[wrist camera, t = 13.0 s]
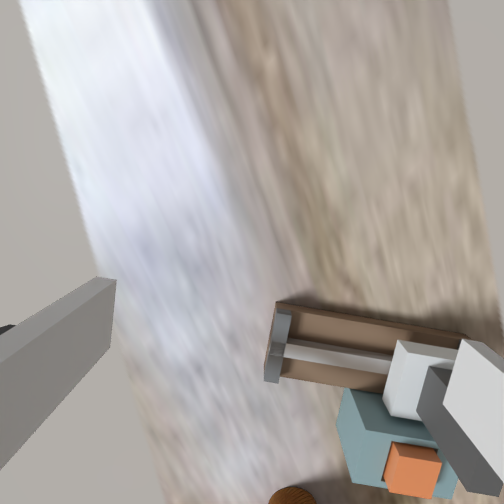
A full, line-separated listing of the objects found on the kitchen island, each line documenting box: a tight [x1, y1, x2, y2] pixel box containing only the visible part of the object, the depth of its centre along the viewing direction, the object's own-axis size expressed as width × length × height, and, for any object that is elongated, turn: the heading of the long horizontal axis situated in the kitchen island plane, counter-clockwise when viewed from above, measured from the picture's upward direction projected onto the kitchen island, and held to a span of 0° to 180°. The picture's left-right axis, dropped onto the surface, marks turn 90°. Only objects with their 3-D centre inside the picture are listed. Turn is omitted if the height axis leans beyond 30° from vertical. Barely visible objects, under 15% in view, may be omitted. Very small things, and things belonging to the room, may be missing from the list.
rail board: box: [264, 302, 471, 394], centre depth 43 cm, size 8×22×4 cm, turn 81°
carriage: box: [382, 340, 503, 497], centre depth 35 cm, size 7×7×13 cm
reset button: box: [383, 441, 442, 499], centre depth 39 cm, size 4×4×7 cm
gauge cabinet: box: [336, 388, 458, 499], centre depth 42 cm, size 6×11×9 cm, turn 80°
